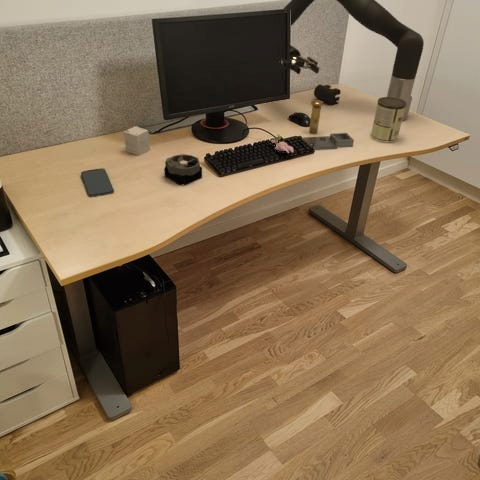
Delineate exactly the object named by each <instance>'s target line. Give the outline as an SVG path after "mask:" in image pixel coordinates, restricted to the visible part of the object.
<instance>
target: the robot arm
mask: <svg viewBox="0 0 480 480" xmlns="http://www.w3.org/2000/svg"><path fill="white" fill-rule="evenodd" d="M336 1H337V2H338V3H339V4H340V5H341V6H342V7H343V8H344V9H345V10H346V12H347V13H348V14H349V15H350V16H351V17H352V18H353V19H354V20H355V21H357V22H358V23H359V24H360V25H361V26H363V27H365V28H366V29H367V30H369V31H371V32H373V33H376V34H378V35H380V36H381V37H384V38H385V39H386V40H388V41H390V43H392V44H393V45H394V46H395V47H396V54H395V57H394V63H393V67H392V73H391V77H390V81H389V85H388V88H387V95H386V97H394V98H398V99H402V100H404V101H405V102H406V103H407V104H406V107H405V111H404V115H403V119H402V122H403V121H405V120H408V116H409V113H410V109H411V105H412V101H413V97H412V93H413V92H412V91H413V88H414V84H415V81H416V77H417V73H418V70H419V66H420V62H421V58H422V53H423V51H424V38H423V37H422V35H421V34H420V33H419V32H417V31H416V30H413V29H411V28H410V27H409V26H407V25H405V24H403V23H402V22H401V21H399V20H398V19H397V18H396V17H395V16H394V15H393V14H392V13H391V12H390V11H388V10H387V9H386V8H385V7H384V6H382V4H381V3H379V2H378V1H376V0H336ZM314 2H315V0H290V1H289V2H288V3H287V4H286V6H284V7H283V8H282V9H290V10H291V27H292V26H293V25H294V23H296V22H297V21H298V19H300V17H301V16H302V15H303V13H304V12H305V11H306V10H307V9H308V8H309V6H311V4H313V3H314ZM289 61H290V63H289V62H288V61H287V60H286V59H284V58H281V65H280V66H281V67H282V68H283V69H284V70H286V71H288V70H290V71H292V72H294V73H296V74H297V75H300V74H301V71H302V69H305V70H307V69H309V70H311V71H312V72H314V73H315V74H319V71H320V67H319V66H318V61H316V60H315V59H314V58H312V57H310V56H307V58H305V57H303V56H302V55H301V52H300V50H298V49H297V48H296V47H295V46H293V45H292V44H290V60H289Z"/></svg>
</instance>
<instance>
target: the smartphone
mask: <svg viewBox="0 0 480 480" xmlns="http://www.w3.org/2000/svg"><path fill="white" fill-rule="evenodd" d="M80 176H81V179H82V182H83V185H84V187H85V191H86V193H87V196H88V197H89V198H95V197H102V196H107V195H112V194H114V193H115V190H114V187H113V185H112V183H111V180H110V177H109V175H108V173H107V171H106V168H102V167H101V168H94V169H89V170H83V171H81V172H80Z"/></svg>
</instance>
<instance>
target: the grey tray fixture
mask: <svg viewBox="0 0 480 480" xmlns="http://www.w3.org/2000/svg"><path fill="white" fill-rule="evenodd" d="M302 138H303V139H304V140H305V141H306V142H307V143H308V144H310V145H311V146H312V147H313V149H314V150H313V151H320V150H335V149H338V148H345V147H347V148H348V147H353V146H354V143H355V142H354V141H355V140H354V138H353V137H352V136H351V135H349V134H348V132H338V133H335V132H334V133H330V134H329V135H327V136H326V135H325V136H324V135H323V136H307V137H306V136H305V137H302Z"/></svg>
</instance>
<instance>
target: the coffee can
mask: <svg viewBox="0 0 480 480" xmlns="http://www.w3.org/2000/svg"><path fill="white" fill-rule="evenodd" d="M406 104H407V103H406V102H405V101H404V100H402V99H398V98H394V97H387V96H384V97H380V98H378V99H377V104H376V110H375V114H374V117H373V118H374V120H373V124H372V129H371V134H370V137H371V139H372V140H375V141H377V142H380V143H387V144H388V143H390V144H391V143H396V142H397V141H398V139H399V135H400V131H401V126H402V123H403V121H402V119H403V115H404V111H405V107H406Z"/></svg>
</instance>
